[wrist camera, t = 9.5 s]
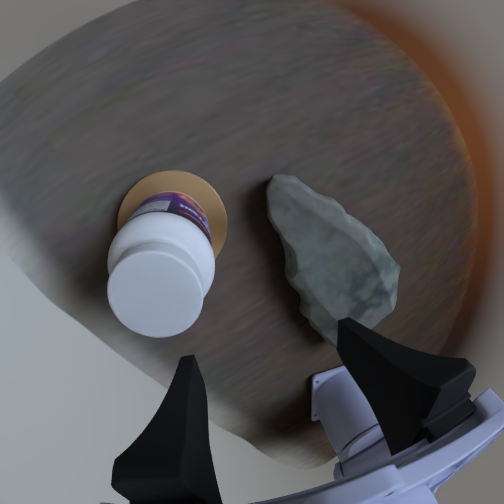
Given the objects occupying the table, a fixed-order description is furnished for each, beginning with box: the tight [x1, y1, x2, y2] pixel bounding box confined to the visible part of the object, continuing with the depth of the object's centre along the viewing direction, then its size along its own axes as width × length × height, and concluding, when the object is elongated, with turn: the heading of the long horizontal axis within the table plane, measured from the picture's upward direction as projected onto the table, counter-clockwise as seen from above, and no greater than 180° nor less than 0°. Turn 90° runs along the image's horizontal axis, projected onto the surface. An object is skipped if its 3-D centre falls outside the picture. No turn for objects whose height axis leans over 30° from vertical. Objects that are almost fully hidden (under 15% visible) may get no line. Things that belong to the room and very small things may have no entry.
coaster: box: [117, 170, 227, 258], centre depth 20 cm, size 8×8×1 cm
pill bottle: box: [107, 191, 215, 338], centre depth 15 cm, size 5×5×10 cm
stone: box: [265, 174, 401, 348], centre depth 23 cm, size 17×3×10 cm
